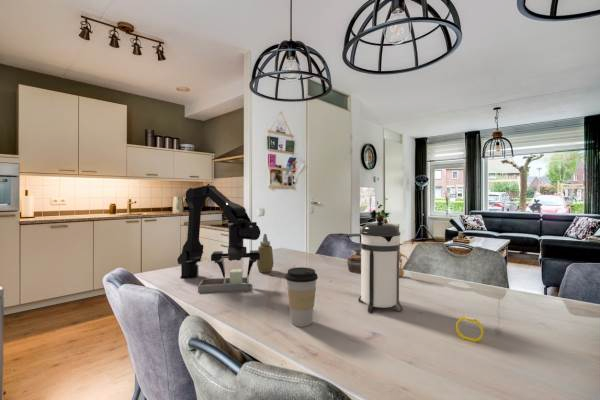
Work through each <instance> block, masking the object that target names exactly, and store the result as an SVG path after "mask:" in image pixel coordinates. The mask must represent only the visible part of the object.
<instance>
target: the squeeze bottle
mask: <svg viewBox="0 0 600 400" xmlns="http://www.w3.org/2000/svg"><path fill="white" fill-rule="evenodd" d="M257 250H259V251H260V260H257V261H256V266H257V270H258V272H259V273H263V274H264V273H270V272H272V271H273V268H274V267H273V266H274V255H273V254H274V253H273V247H272V245H271V241H270V240H268V235H267V233H264V234H263V237H262V240H261V241H260V245H259V246H258V248H257Z"/></svg>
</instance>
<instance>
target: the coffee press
mask: <svg viewBox="0 0 600 400" xmlns="http://www.w3.org/2000/svg"><path fill="white" fill-rule="evenodd" d="M376 221H377V222H373V223H372V222H371V223H367V224H366V223H365V224H364V225H363V226H362V228H361V229H360V230H359V233H360V235H361V237H360V238H361V239H360V250H361V273H360V296H359V297H358V303H365V304H366V305H368V307H367V312H368V313H370V314H374V311H375V309H376V308H381V309H382V308H383V309H384V308H385V309H386V308H387V309H388V308H391V307H392V308H394V309H395V311H396V312H398V313H400V312H401V311H403V306H402V304H401V303H400V277H399V268H400V261H399V251H400V250H401V244H400V237H401V231H400V230H399V227H398V226H396V225H395V224H391V223H385V222H384V217H383V216H382V215H378V216H377V217H376ZM396 305H397V306H398V307H399V308H398V307H397V306H396Z"/></svg>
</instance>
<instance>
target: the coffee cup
mask: <svg viewBox="0 0 600 400" xmlns="http://www.w3.org/2000/svg"><path fill="white" fill-rule="evenodd" d="M284 278H285V280H286V281H287V289H286V290H287V296H288V306H289V312H290V313H289V314H290V321H291V324H292V325H293V326H295V327H300V328H301V327H302V328H303V327H308V326H310V325H312V323H313V322H312V321H313V312H314V307H315V299H316V288H317V287H316V285H317V282H316V281H317V280H318V279H319V278H318V274H317V273H316V270H315V269H314V268H310V267H292V268H289V269H288V270H287V273H285V276H284Z"/></svg>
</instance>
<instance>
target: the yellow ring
mask: <svg viewBox="0 0 600 400" xmlns="http://www.w3.org/2000/svg"><path fill="white" fill-rule="evenodd" d="M462 321H467V322H471V323H475V324H476V325H478V328H479V329H480V335H479V337H475V338H473V337H469V336H465V335H464V334H463V333H462V332H461V330H460V328H459V323H460V322H462ZM455 330H456V333H457V335H458V336H459V337H460V338H461V339H463V340H466V341H469V342H472V343H473V342H474V343H476V342H479V341H481V339H482V338H483V336H484V327H483V326H482V323H481V322H480V321H479V320H477V318H476V317H475V316H474V315H472V314H464V315H463V316H462V317H460V318H459V319H458V320H457V321H456V324H455Z"/></svg>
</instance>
